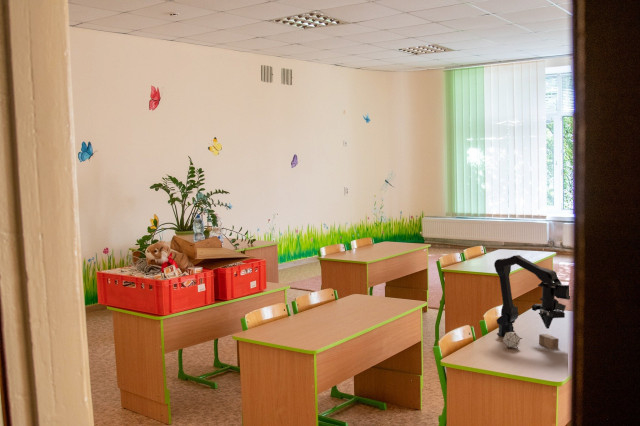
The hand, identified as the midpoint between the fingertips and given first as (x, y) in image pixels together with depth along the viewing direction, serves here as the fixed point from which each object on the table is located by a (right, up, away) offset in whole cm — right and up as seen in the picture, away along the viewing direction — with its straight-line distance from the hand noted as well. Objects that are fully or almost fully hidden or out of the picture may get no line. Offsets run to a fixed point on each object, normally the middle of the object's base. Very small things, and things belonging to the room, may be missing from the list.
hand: (547, 328), depth 284 cm
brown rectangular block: (-1, -6, +3) cm, 7 cm away
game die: (-19, -8, -5) cm, 22 cm away
